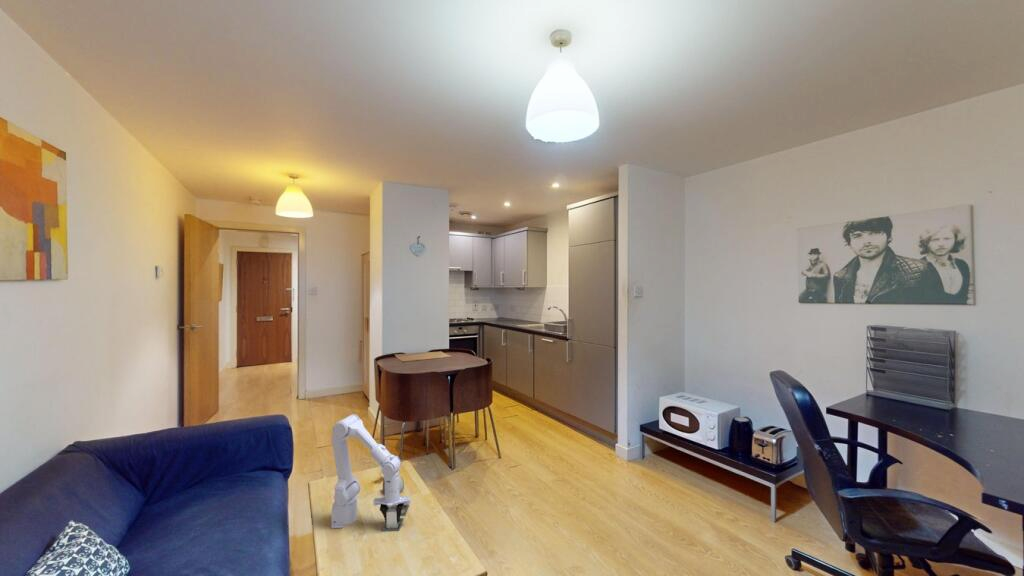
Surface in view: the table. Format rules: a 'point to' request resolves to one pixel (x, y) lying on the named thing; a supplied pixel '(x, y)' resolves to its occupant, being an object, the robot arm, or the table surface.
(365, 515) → the table surface
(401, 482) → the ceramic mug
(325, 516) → the table surface
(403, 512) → the panel
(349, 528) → the table surface
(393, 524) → the plug
